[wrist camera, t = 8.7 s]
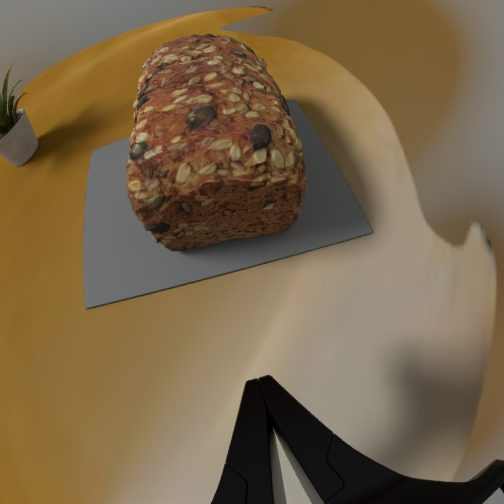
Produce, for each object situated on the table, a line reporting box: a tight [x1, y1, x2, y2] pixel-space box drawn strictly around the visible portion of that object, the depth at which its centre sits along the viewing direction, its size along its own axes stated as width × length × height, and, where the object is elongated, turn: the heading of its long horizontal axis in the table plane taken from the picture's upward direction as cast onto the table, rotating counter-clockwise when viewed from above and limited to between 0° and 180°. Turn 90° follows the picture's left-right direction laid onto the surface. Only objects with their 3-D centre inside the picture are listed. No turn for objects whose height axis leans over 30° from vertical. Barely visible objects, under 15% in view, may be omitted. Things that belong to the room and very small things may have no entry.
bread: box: [126, 34, 307, 252], centre depth 19 cm, size 19×11×10 cm, turn 11°
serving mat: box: [83, 100, 373, 309], centre depth 23 cm, size 18×24×1 cm
